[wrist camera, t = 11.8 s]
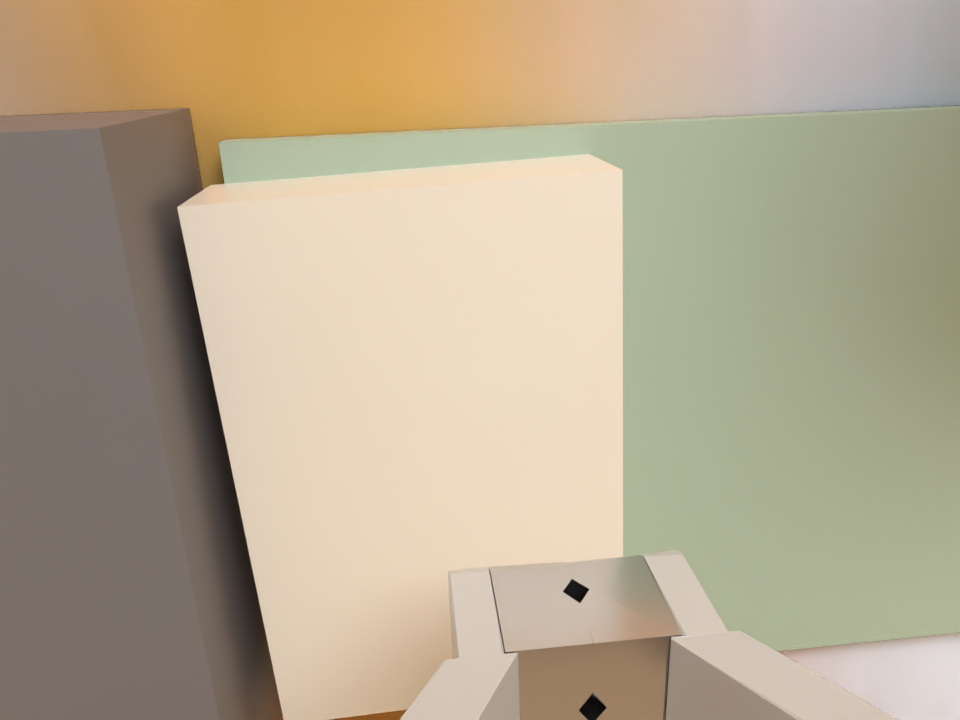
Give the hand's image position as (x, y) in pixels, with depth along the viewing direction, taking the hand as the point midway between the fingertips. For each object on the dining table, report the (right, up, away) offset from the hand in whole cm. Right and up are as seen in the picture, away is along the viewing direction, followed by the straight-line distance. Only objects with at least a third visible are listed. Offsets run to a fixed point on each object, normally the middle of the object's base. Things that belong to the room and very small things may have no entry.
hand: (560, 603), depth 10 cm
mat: (+4, +2, +5) cm, 7 cm away
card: (-2, +2, +4) cm, 5 cm away
